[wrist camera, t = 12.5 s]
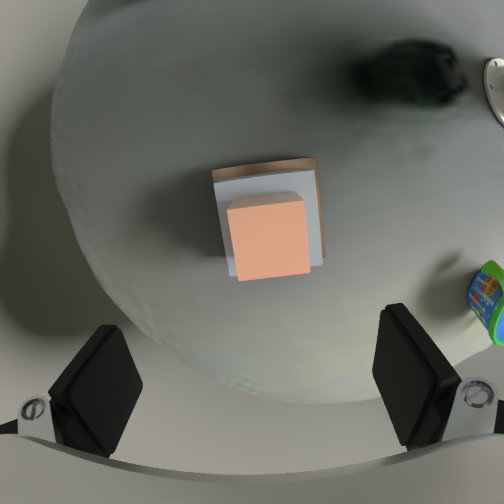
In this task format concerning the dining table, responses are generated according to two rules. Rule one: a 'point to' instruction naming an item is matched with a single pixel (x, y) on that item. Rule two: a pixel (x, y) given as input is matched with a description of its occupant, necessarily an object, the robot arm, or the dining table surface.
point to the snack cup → (489, 300)
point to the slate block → (267, 185)
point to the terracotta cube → (269, 236)
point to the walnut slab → (275, 167)
